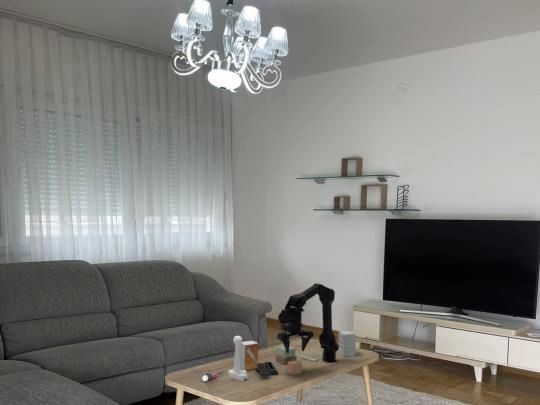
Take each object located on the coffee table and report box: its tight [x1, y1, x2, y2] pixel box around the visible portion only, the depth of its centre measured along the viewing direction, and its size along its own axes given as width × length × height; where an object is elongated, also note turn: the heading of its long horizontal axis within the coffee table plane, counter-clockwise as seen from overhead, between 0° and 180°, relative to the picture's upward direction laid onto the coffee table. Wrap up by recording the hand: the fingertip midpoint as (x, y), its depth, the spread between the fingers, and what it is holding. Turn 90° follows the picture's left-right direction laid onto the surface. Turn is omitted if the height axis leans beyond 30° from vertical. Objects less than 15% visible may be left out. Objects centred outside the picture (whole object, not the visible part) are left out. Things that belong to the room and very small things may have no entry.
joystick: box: [228, 335, 248, 382], centre depth 240 cm, size 11×8×20 cm
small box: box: [240, 340, 259, 371], centre depth 254 cm, size 8×6×13 cm
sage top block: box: [276, 345, 296, 358], centre depth 266 cm, size 7×7×4 cm
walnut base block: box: [275, 353, 298, 366], centre depth 266 cm, size 8×8×4 cm
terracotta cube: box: [287, 360, 303, 375], centre depth 249 cm, size 5×5×5 cm
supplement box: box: [337, 330, 356, 358], centre depth 283 cm, size 7×7×13 cm
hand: (295, 352), depth 249 cm, fingers open, 9 cm apart
